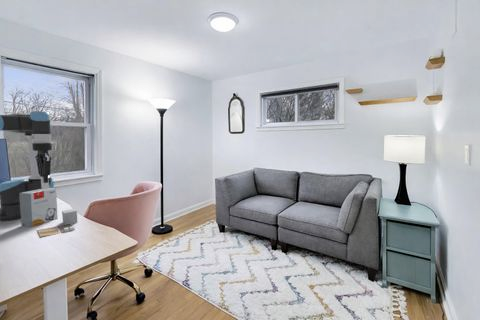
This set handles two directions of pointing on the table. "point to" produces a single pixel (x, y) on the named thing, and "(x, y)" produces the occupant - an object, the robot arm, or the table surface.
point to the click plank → (48, 232)
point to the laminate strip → (61, 228)
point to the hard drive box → (38, 206)
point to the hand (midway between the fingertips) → (45, 188)
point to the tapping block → (69, 216)
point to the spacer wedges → (68, 229)
